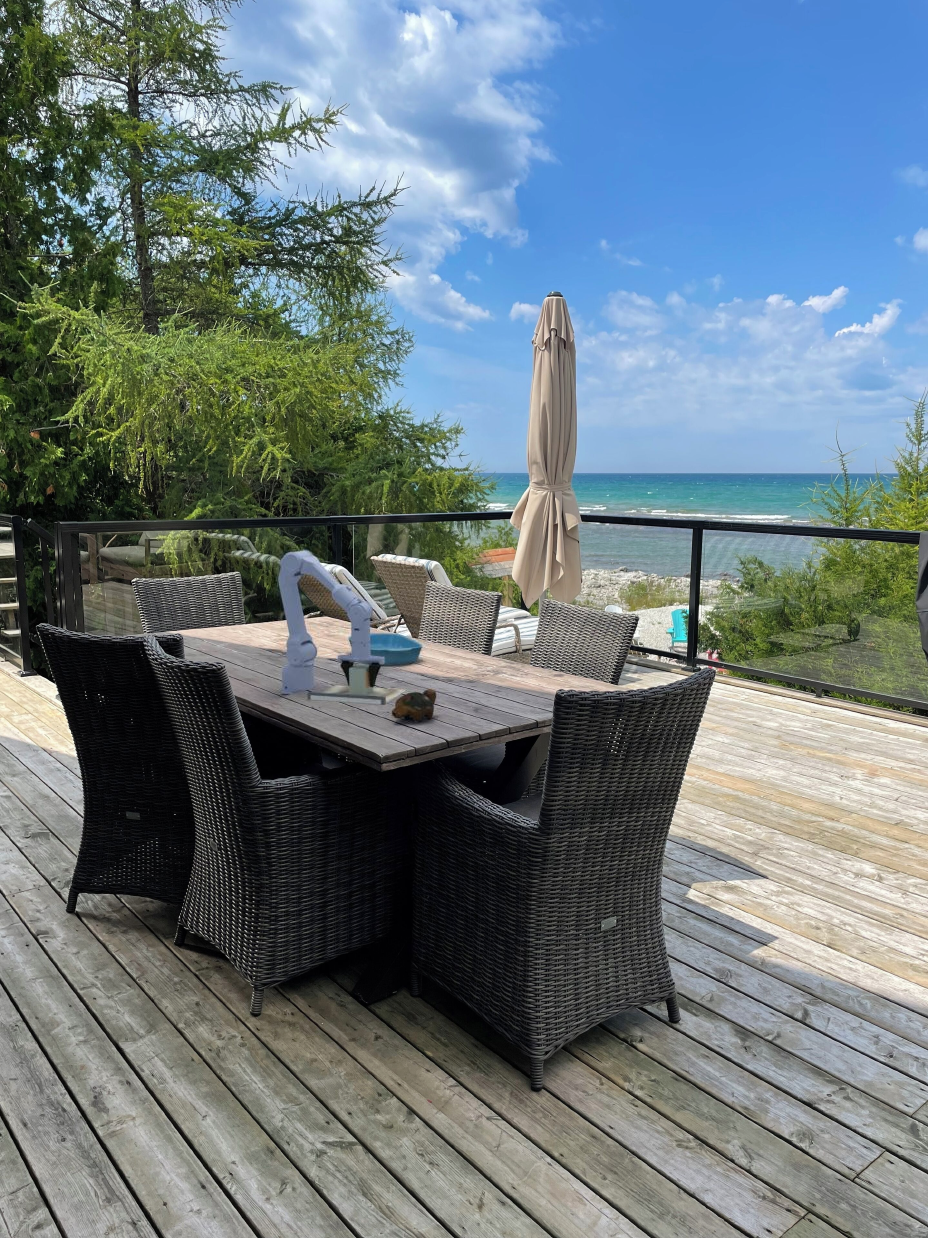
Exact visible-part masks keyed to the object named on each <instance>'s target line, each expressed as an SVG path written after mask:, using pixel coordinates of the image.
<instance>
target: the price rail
mask: <svg viewBox="0 0 928 1238" xmlns="http://www.w3.org/2000/svg"><path fill="white" fill-rule="evenodd" d="M321 692H322V691H320V692H318V691H308V692H307V700H309V701H310V700H311V701H323V702H336V703H337V702H339V703H354V704H369V705H386V704H387V703H386V697H382V696H367V695H352V694H336V693H321Z"/></svg>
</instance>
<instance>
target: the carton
mask: <svg viewBox="0 0 928 1238" xmlns="http://www.w3.org/2000/svg"><path fill="white" fill-rule="evenodd" d="M369 665H370V664H365V663H357V664H355V665H353V667H351V668H349V692H350V694H352V695H367V694H368V693H370V692H372V691H373V688H374V687H370V671H369Z"/></svg>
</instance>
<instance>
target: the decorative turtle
mask: <svg viewBox="0 0 928 1238" xmlns="http://www.w3.org/2000/svg"><path fill="white" fill-rule="evenodd" d="M436 700H437V693H436V691H435V689H432V688H431V689H426V690H424V691H423V692H419V691H413V692H408V693H406V694H403V695H402V696H400V697H399V698H398V699H396V701H395V704H394V708H393V709H392V710H391V715H392V716H393V718H395V719H396V720H397V719H404V720H408V719H409V718H410V717H411V718H412V720H413V721H414V722H415V723H420V721H421V720H422V719H423V718H424V719H426V720H427V721H428V720H429V721H431V719H433V715H434V712H435V703H436Z"/></svg>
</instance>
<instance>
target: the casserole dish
mask: <svg viewBox="0 0 928 1238" xmlns="http://www.w3.org/2000/svg"><path fill="white" fill-rule="evenodd" d="M348 641H349V645H350V646H351V635H350V636H349V637H348ZM422 649H423V644H422V643H420V642H418V641H416V640H414V639H412V638H410V637H408V636H405V635H403V634H400V633H388V632H387V633H386V632H385V633H384V632H383V633H382V632H370V655H372V656H379V657H385V663H384V664H382V666H381V667H383V666H396V665H398V666H399V665H409V664H414V663H415V662H417V660H418V659H419V657H420V654H421V652H422ZM370 664H372V663H369V665H370Z"/></svg>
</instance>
